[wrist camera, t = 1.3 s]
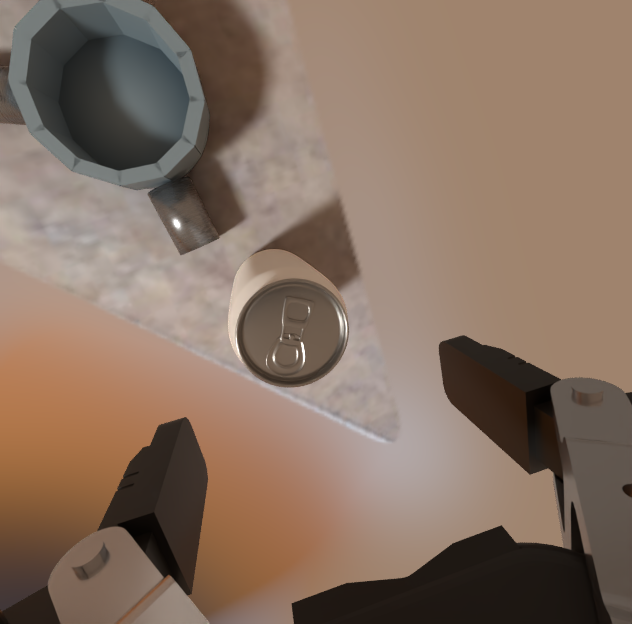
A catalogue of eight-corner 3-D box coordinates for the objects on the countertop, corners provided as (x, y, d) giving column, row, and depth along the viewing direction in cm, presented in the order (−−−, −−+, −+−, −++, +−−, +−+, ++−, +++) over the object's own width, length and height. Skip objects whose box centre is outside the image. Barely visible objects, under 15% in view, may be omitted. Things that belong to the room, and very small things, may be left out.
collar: (89, 202, 25) (57, 199, 20) (26, 43, 22) (-26, 1, 18) (226, 172, 26) (222, 164, 22) (183, 18, 23) (169, -27, 19)
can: (226, 319, 29) (214, 386, 17) (241, 239, 27) (239, 255, 16) (303, 332, 30) (339, 402, 19) (321, 257, 29) (371, 284, 18)
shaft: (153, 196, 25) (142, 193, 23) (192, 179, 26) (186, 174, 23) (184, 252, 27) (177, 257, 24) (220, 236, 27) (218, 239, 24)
